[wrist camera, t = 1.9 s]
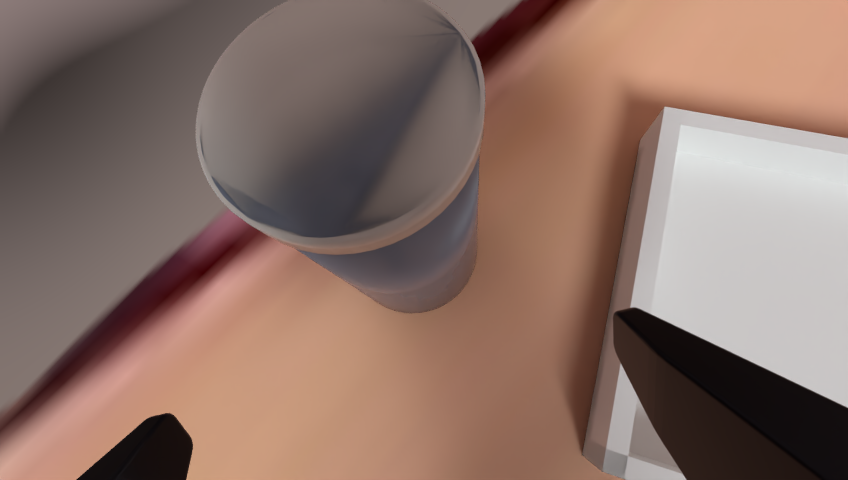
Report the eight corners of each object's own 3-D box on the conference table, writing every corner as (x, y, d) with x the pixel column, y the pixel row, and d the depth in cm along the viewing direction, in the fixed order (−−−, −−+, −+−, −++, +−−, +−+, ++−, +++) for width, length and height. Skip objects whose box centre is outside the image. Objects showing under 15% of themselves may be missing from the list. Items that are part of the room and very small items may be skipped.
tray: (962, 582, 16) (1071, 630, 13) (582, 454, 18) (602, 471, 15) (951, 199, 20) (1033, 170, 17) (640, 139, 22) (664, 106, 19)
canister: (458, 331, 20) (435, 279, 8) (333, 294, 22) (146, 200, 9) (493, 206, 22) (517, 4, 10) (374, 178, 23) (262, -31, 11)
